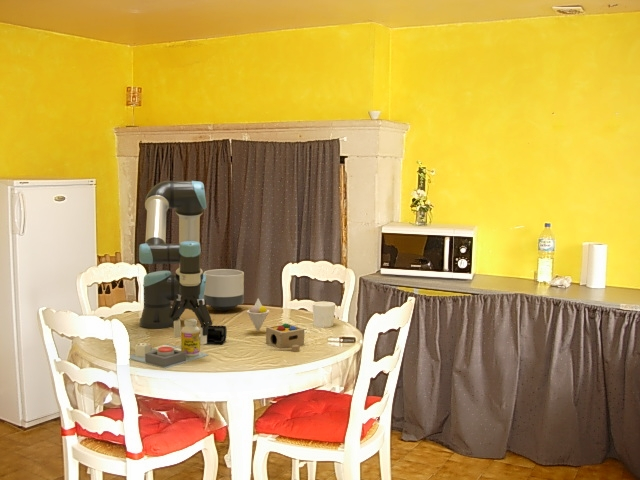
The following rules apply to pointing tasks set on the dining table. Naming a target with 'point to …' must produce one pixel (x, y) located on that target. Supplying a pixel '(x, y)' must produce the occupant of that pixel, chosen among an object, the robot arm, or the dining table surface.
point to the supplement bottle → (190, 338)
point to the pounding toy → (285, 337)
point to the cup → (323, 314)
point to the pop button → (165, 351)
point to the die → (142, 349)
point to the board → (188, 358)
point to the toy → (258, 314)
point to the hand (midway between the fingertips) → (190, 340)
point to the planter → (224, 288)
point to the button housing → (165, 358)
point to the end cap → (216, 335)
